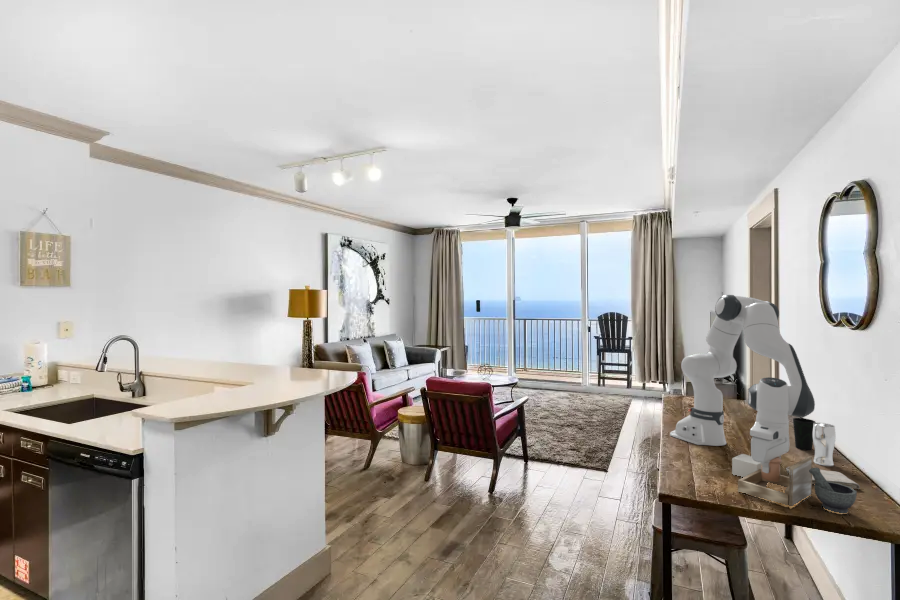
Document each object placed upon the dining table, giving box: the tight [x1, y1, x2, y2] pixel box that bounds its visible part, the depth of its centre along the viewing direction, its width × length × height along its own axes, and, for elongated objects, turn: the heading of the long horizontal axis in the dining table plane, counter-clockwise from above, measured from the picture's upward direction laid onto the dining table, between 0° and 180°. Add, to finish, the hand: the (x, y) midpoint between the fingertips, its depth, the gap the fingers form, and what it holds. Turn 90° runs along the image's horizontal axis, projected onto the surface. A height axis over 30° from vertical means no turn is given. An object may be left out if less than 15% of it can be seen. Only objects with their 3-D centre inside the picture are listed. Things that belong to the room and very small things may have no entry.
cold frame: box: [737, 455, 813, 506], centre depth 151 cm, size 15×17×13 cm
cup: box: [792, 417, 817, 452], centre depth 196 cm, size 8×8×12 cm
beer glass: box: [812, 422, 837, 467], centre depth 179 cm, size 7×7×15 cm
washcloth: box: [785, 466, 861, 490], centre depth 162 cm, size 12×18×3 cm, turn 74°
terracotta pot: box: [761, 457, 782, 481], centre depth 152 cm, size 6×6×7 cm
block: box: [731, 453, 761, 478], centre depth 166 cm, size 8×8×6 cm
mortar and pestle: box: [809, 467, 858, 513], centre depth 140 cm, size 11×9×12 cm
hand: (770, 470), depth 152 cm, fingers closed on terracotta pot, 5 cm apart
